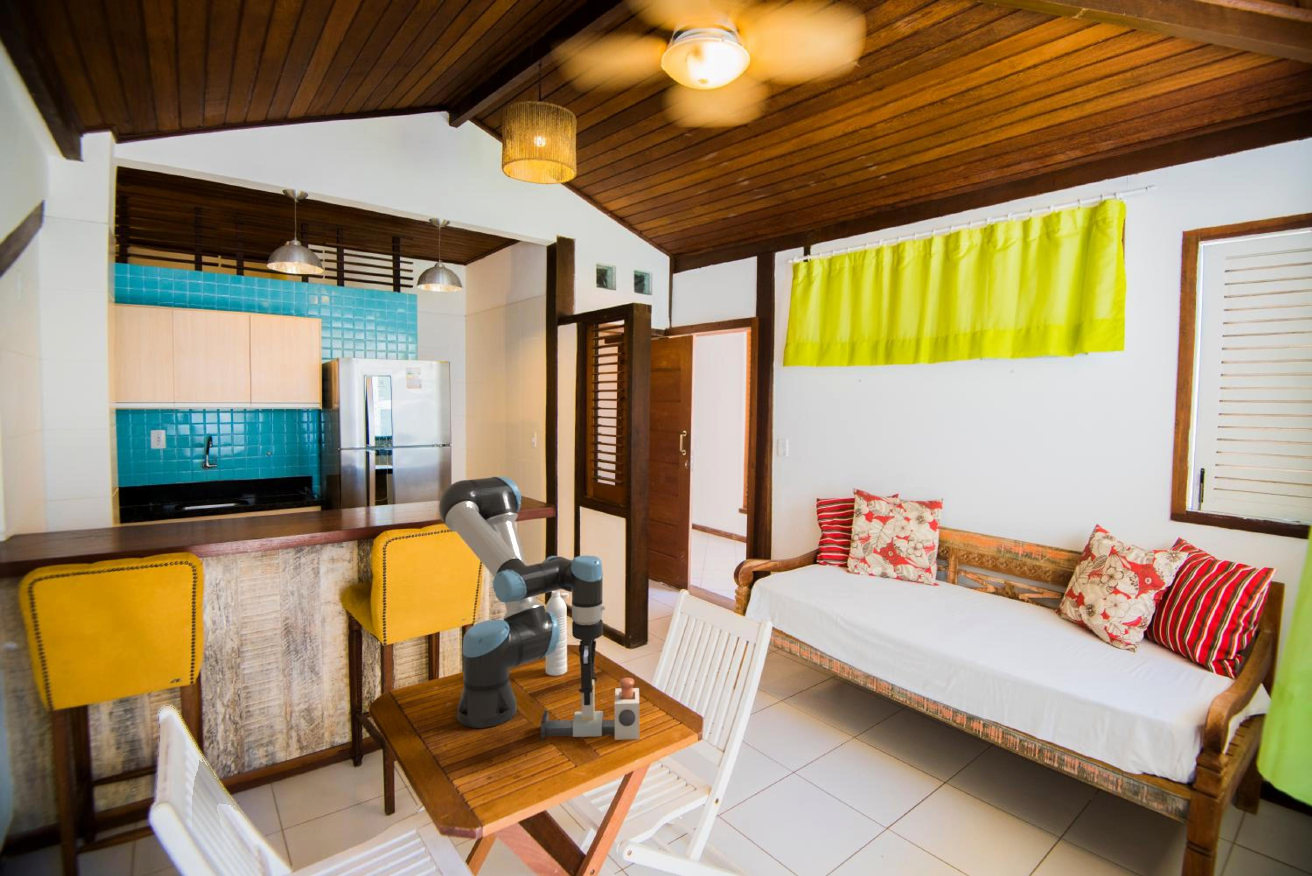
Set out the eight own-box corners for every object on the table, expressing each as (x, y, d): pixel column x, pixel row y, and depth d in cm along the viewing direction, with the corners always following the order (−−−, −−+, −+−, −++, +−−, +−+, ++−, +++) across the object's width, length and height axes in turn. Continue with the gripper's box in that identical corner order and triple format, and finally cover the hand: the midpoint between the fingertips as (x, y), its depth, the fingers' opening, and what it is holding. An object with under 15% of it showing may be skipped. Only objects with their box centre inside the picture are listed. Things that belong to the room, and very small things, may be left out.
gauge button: (619, 709, 152) (619, 684, 152) (620, 702, 156) (619, 677, 155) (634, 709, 152) (634, 684, 152) (634, 702, 156) (634, 677, 156)
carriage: (572, 736, 151) (572, 689, 150) (575, 722, 157) (575, 676, 157) (601, 736, 151) (601, 688, 150) (602, 721, 158) (602, 676, 157)
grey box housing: (614, 740, 150) (614, 704, 149) (615, 722, 158) (615, 688, 158) (639, 740, 150) (639, 704, 150) (638, 722, 159) (638, 688, 158)
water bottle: (541, 671, 188) (540, 591, 187) (558, 665, 193) (557, 586, 191) (559, 680, 182) (558, 597, 181) (576, 673, 187) (575, 592, 186)
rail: (541, 739, 151) (540, 723, 150) (544, 726, 157) (544, 710, 156) (618, 737, 151) (618, 721, 151) (619, 724, 157) (619, 709, 157)
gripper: (600, 631, 144) (601, 729, 146) (604, 608, 161) (605, 696, 162) (568, 632, 144) (569, 729, 146) (575, 609, 160) (576, 696, 162)
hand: (588, 711), depth 154 cm, fingers closed on carriage, 3 cm apart
